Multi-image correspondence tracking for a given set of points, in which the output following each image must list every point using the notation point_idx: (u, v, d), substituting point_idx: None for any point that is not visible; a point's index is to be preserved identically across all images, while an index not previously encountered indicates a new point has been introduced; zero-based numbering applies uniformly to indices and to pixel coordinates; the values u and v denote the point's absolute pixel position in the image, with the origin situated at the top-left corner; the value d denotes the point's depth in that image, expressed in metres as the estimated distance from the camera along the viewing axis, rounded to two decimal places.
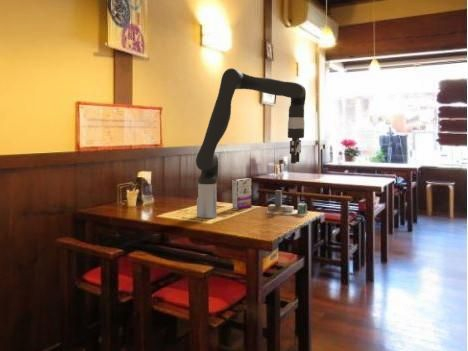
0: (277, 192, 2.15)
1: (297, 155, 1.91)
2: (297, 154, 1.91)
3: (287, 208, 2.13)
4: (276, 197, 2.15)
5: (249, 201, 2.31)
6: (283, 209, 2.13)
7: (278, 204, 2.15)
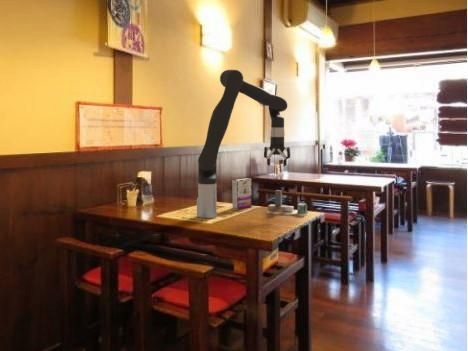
0: (277, 192, 2.15)
1: None
2: (269, 159, 2.20)
3: (287, 208, 2.13)
4: (276, 197, 2.15)
5: (249, 201, 2.31)
6: (283, 209, 2.13)
7: (278, 204, 2.15)
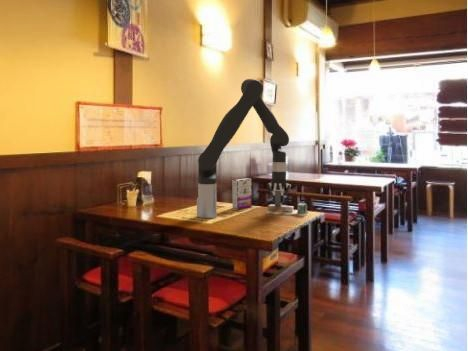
0: (277, 192, 2.15)
1: None
2: None
3: (287, 208, 2.13)
4: (276, 197, 2.15)
5: (249, 201, 2.31)
6: (283, 209, 2.13)
7: (278, 204, 2.15)
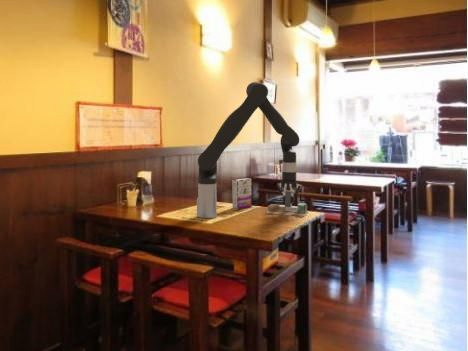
0: (287, 193, 2.13)
1: None
2: None
3: (297, 208, 2.11)
4: (286, 198, 2.13)
5: (249, 201, 2.31)
6: (283, 209, 2.13)
7: (288, 205, 2.13)
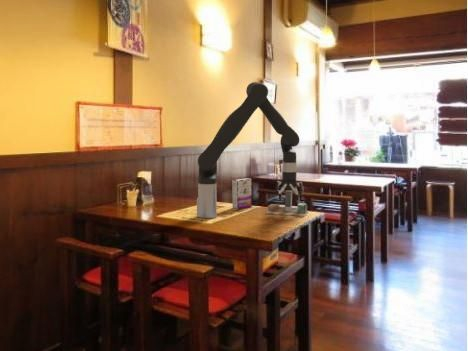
0: (287, 193, 2.13)
1: (281, 194, 2.16)
2: (281, 193, 2.16)
3: (297, 208, 2.11)
4: (286, 198, 2.13)
5: (249, 201, 2.31)
6: (283, 209, 2.13)
7: (288, 205, 2.13)
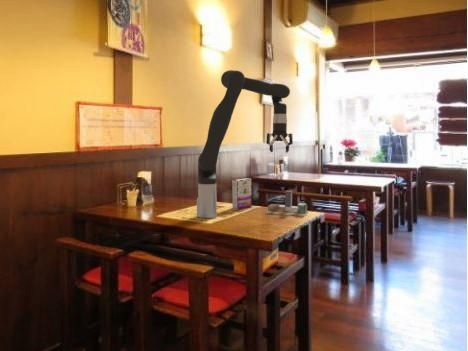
0: (287, 193, 2.13)
1: (272, 146, 2.22)
2: (272, 145, 2.22)
3: (297, 208, 2.11)
4: (286, 198, 2.13)
5: (249, 201, 2.31)
6: (283, 209, 2.13)
7: (288, 205, 2.13)
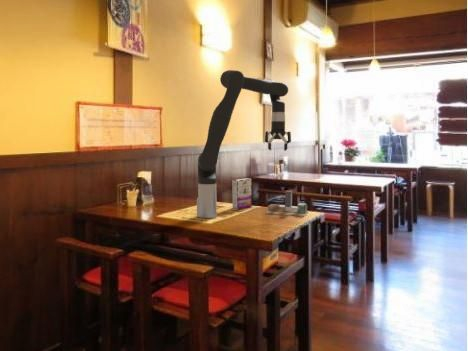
0: (287, 193, 2.13)
1: (270, 144, 2.23)
2: (270, 143, 2.23)
3: (297, 208, 2.11)
4: (286, 198, 2.13)
5: (249, 201, 2.31)
6: (283, 209, 2.13)
7: (288, 205, 2.13)
